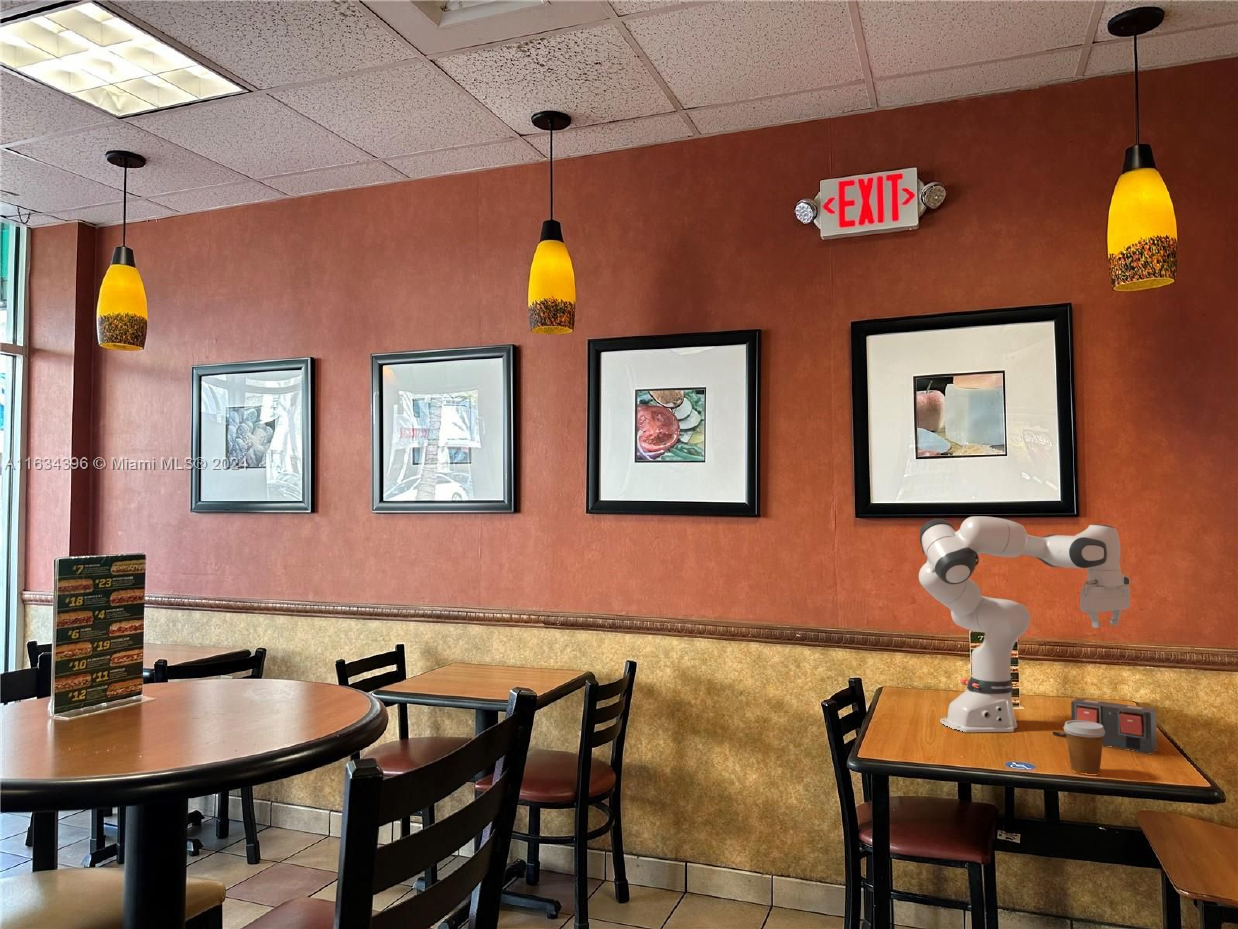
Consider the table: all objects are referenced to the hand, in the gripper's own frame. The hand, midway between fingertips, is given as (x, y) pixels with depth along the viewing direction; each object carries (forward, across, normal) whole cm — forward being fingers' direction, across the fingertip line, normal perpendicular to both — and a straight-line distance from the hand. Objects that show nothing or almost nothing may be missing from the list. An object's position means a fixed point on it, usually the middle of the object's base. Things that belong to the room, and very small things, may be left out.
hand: (1105, 626), depth 258 cm
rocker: (+27, -15, -3) cm, 31 cm away
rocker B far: (+27, -11, -13) cm, 32 cm away
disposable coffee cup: (+33, -39, -16) cm, 53 cm away
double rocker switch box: (+32, -10, -4) cm, 34 cm away
